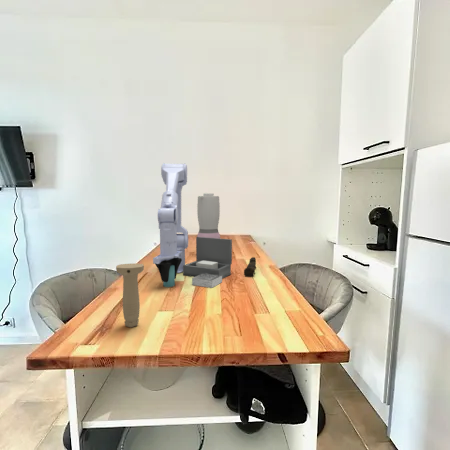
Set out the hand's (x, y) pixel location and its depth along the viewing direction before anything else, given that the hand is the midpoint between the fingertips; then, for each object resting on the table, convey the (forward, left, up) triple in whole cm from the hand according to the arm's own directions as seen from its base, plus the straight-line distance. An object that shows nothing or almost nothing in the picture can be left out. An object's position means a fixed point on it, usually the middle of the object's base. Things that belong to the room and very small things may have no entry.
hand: (168, 280), depth 113 cm
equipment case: (+5, +19, -2) cm, 19 cm away
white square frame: (+11, +8, -2) cm, 14 cm away
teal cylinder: (0, 0, -2) cm, 2 cm away
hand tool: (+18, +32, -2) cm, 37 cm away
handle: (+12, -32, -2) cm, 34 cm away
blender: (-13, +54, -2) cm, 56 cm away
